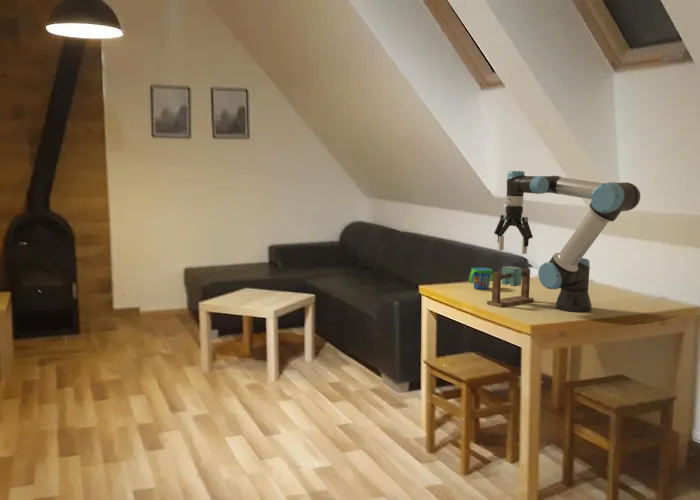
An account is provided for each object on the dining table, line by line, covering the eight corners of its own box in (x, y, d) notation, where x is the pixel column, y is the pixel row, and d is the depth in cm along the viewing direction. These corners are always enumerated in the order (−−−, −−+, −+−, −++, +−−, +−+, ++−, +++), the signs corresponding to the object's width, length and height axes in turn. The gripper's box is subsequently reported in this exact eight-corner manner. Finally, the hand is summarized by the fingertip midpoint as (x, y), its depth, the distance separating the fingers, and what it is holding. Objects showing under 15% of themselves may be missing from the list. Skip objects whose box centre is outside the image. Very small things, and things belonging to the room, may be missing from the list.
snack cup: (486, 285, 378) (487, 266, 376) (499, 289, 369) (500, 269, 367) (462, 288, 370) (463, 268, 369) (475, 291, 361) (476, 271, 360)
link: (509, 283, 337) (509, 266, 336) (520, 285, 331) (521, 268, 330) (501, 284, 334) (502, 267, 333) (513, 286, 328) (514, 268, 327)
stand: (520, 298, 344) (521, 267, 342) (533, 301, 337) (535, 269, 335) (486, 304, 330) (488, 271, 328) (500, 307, 324) (501, 274, 322)
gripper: (487, 203, 336) (486, 249, 338) (531, 207, 316) (528, 255, 319) (498, 203, 340) (497, 248, 343) (542, 206, 320) (539, 254, 323)
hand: (512, 252), depth 331 cm, fingers open, 13 cm apart
